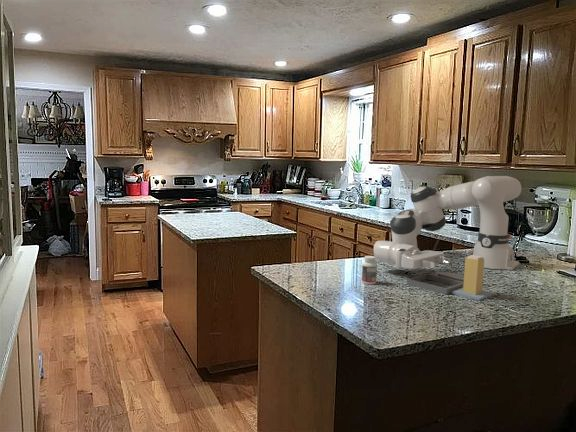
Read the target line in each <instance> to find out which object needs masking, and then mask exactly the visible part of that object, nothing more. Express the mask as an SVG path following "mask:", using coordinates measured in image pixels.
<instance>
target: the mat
mask: <svg viewBox="0 0 576 432" xmlns="http://www.w3.org/2000/svg"><path fill="white" fill-rule="evenodd" d="M450 294H453V295H455V296H459V297H463V298H467V299H471V300H474V301H479V302H480V301H482V300H485V299H486V298H489V297H493V295H494V292H492V291H486V290H483V289H482V293H479V294H476V295H474V294H470V293H466V292H463V287H462V288H460V289H457V290H454V291H452V293H450Z"/></svg>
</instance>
